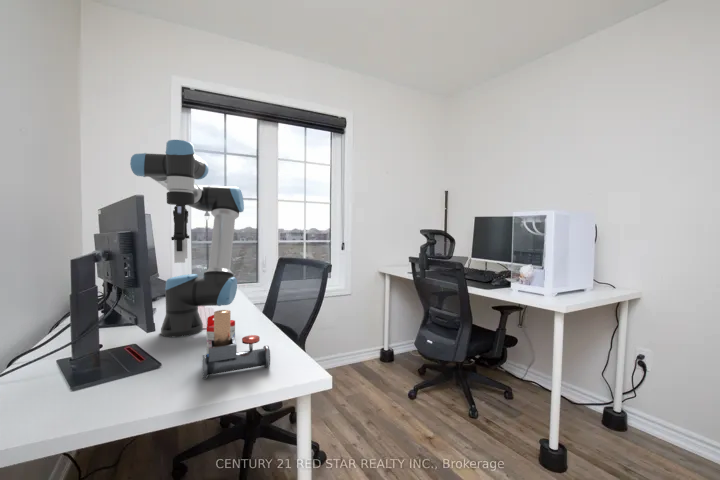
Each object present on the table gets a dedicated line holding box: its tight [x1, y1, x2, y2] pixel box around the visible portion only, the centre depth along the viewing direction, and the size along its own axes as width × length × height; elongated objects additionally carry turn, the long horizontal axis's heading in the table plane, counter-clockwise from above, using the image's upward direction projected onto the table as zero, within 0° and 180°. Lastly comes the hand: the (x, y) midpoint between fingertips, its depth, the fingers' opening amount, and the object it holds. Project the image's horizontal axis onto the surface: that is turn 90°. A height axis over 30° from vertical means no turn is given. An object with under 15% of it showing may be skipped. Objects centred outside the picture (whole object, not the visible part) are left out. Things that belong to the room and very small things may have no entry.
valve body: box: [202, 334, 271, 380], centre depth 95 cm, size 18×7×10 cm, turn 116°
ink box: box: [206, 314, 236, 357], centre depth 105 cm, size 8×5×15 cm, turn 168°
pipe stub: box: [213, 309, 232, 347], centre depth 93 cm, size 4×4×12 cm
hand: (181, 260), depth 100 cm, fingers open, 13 cm apart
